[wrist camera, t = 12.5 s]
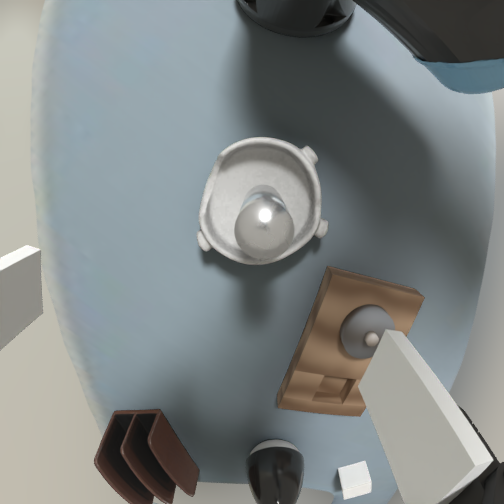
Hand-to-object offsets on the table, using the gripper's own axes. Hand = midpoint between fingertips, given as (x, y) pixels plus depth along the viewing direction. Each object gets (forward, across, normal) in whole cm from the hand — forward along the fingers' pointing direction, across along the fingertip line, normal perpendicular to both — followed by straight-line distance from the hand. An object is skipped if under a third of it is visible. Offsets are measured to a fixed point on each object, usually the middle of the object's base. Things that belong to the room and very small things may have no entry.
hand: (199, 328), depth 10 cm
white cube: (+28, +35, -48) cm, 66 cm away
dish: (+28, +3, +2) cm, 28 cm away
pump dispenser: (+28, +16, -40) cm, 52 cm away
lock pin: (+23, +2, +2) cm, 23 cm away
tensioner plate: (+28, +19, -15) cm, 37 cm away
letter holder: (+28, -6, -46) cm, 54 cm away
